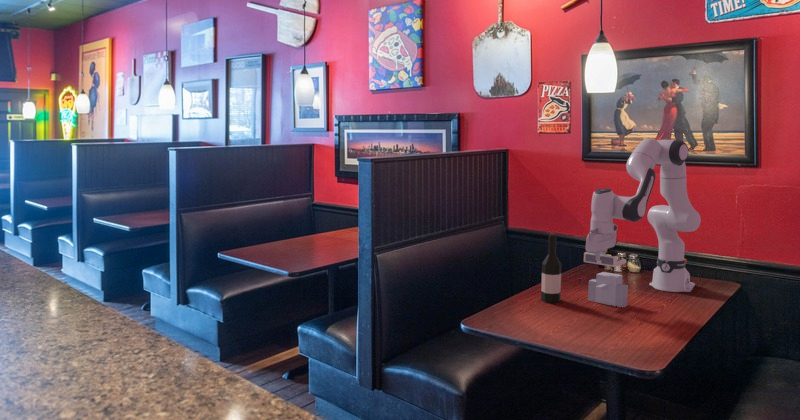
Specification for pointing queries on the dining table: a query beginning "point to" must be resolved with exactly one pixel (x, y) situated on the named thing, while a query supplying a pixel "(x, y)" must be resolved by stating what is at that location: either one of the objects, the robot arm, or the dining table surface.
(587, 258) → the white u-shaped bracket
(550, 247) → the wine bottle
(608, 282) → the white block with peg
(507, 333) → the dining table surface
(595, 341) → the dining table surface
